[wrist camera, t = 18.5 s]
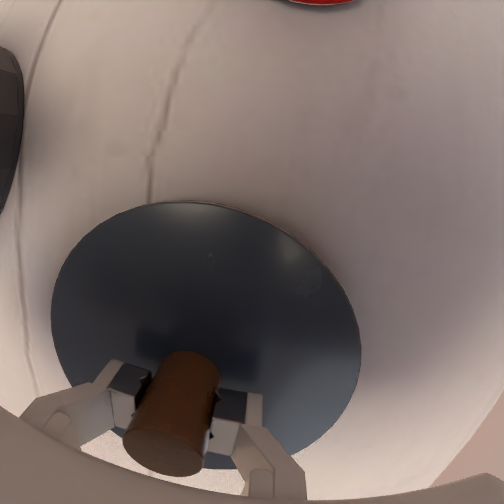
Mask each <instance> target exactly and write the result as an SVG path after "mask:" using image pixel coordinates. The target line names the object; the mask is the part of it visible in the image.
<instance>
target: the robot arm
mask: <svg viewBox="0 0 504 504" xmlns="http://www.w3.org/2000/svg"><path fill="white" fill-rule="evenodd" d="M151 380H152V372H151V371H150V370H146V369H143V368H140V367H137V366H134V365H131V364H128V363H124V362H121V361H118V360H116V359H111V360H110V361H109V362H108V363H107V365H106V366H105V367H104V369H103V370H102V371H101V372H100V374H99V375H98V376H97V378H96V379H95V380H94V382H93V383H90V382H87V383H84V384H81V385H78V386H75V387H72V388H69V389H65V390H62V391H59V392H56V393H52V394H49V395H46V396H42V397H39V398H36V399H35V400H34V401H33V402H32V403H31V404H30V406H29V407H28V408H27V409H26V410H25V411H24V412H23V413H22V415H21V416H20V417H19V418H18V417H17V416H15V415H13V414H12V413H10V412H9V411H7V410H6V409H4V408H3V407H1V406H0V504H504V481H502V480H500V479H499V478H497V477H495V476H493V475H491V474H488V473H481V474H478V475H474V476H471V477H468V478H465V479H462V480H458V481H454V482H451V483H447V484H443V485H439V486H435V487H431V488H426V489H422V490H417V491H411V492H406V493H400V494H393V495H386V496H379V497H370V498H359V499H344V500H307V491H306V481H305V472H304V470H303V469H302V468H301V467H300V466H299V465H298V464H297V463H296V462H295V460H294V459H293V458H292V457H291V456H290V455H289V454H288V452H287V451H286V450H285V449H284V448H283V447H282V446H281V444H280V443H279V442H278V441H277V440H276V438H275V437H274V436H273V435H272V434H271V432H270V431H269V430H268V429H267V428H266V427H262V403H263V396H262V394H257V393H250V392H242V391H236V390H230V389H225V388H220V387H219V389H218V393H217V398H216V403H215V407H214V412H213V417H212V422H211V427H210V432H211V433H210V438H209V443H208V448H207V451H209V452H213V453H218V454H223V455H228V456H231V458H232V460H233V462H234V464H235V465H236V467H237V469H238V471H239V472H240V474H241V476H242V478H243V479H244V481H245V486H244V488H243V491H242V493H241V495H240V496H239V495H232V494H225V493H219V492H213V491H208V490H203V489H198V488H193V487H188V486H184V485H180V484H176V483H172V482H168V481H164V480H160V479H157V478H153V477H150V476H147V475H144V474H140V473H137V472H134V471H131V470H128V469H125V468H123V467H120V466H117V465H114V464H112V463H109V462H106V461H104V460H101V459H99V458H97V457H94V456H92V455H89V454H87V453H85V452H83V451H81V448H80V446H82V445H83V444H85V443H87V442H89V441H91V440H93V439H94V438H96V437H98V436H100V435H101V434H103V433H105V432H107V431H108V430H110V429H112V428H114V427H115V426H117V427H120V428H123V429H127V427H128V425H129V423H130V421H131V419H132V417H133V415H134V413H135V411H136V409H137V407H138V405H139V403H140V401H141V400H142V398H143V396H144V394H145V392H146V390H147V388H148V386H149V384H150V382H151Z"/></svg>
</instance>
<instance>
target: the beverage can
mask: <svg viewBox="0 0 504 504" xmlns="http://www.w3.org/2000/svg"><path fill="white" fill-rule="evenodd" d="M289 1H292V2H297V3H302V4H309V5H334V4H341V3H346V2H351V1H353V0H289Z"/></svg>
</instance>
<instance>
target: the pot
mask: <svg viewBox="0 0 504 504" xmlns="http://www.w3.org/2000/svg"><path fill="white" fill-rule="evenodd" d="M23 112H24V92H23V81H22V75H21V71H20V68H19V64H18V62H17V60H16V59H15V57H14V56H13V54H12V53H11V52H10V51H8V50H7V49H5V48H2V47H0V213H1V211H2V208H3V206H4V204H5V201H6V198H7V195H8V192H9V190H10V186H11V182H12V179H13V176H14V171H15V167H16V163H17V158H18V152H19V147H20V141H21V133H22V125H23Z"/></svg>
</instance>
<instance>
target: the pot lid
mask: <svg viewBox="0 0 504 504" xmlns="http://www.w3.org/2000/svg"><path fill="white" fill-rule="evenodd" d="M51 328H52V336H53V341H54V346H55V349H56V353H57V356H58V359H59V362H60V364H61V366H62V369H63V371H64V373H65V375H66V377H67V379H68V381H69V382H70V384H71V386H72V387H75V386H78V385H81V384H84V383H87V382H90V383H93V382H94V380H95V379H96V378H97V376H98V375H99V374H100V372H101V371H102V370H103V369H104V367H105V366H106V365H107V363H108V362H109V361H110V360H111V359H116V360H118V361H121V362H124V363H128V364H131V365H134V366H137V367H140V368H143V369H146V370H150V371H151V372H152V380H151V382H150V384H149V386H148V388H147V390H146V392H145V394H144V396H143V398H142V400H141V401H140V403H139V405H138V407H137V409H136V411H135V413H134V415H133V417H132V419H131V421H130V423H129V425H128V427H127V429H123V428H120V427H117V426H115V427H114V428H112V429H110V430H112V431H113V432H114V433H116V434H117V435H118V436H120V437H121V438H122V440H123V446H124V448H125V450H126V451H127V453H128V454H129V455H130V456H131V457H132V458H133V459H134V460H135V461H136V462H138V463H139V464H140V465H142V466H144V467H145V468H147V469H149V470H151V471H154V472H156V473H159V474H163V475H167V476H173V477H186V476H191V475H194V474H196V473H198V472H199V471H200V470H201V469H202V468H207V469H237V467H236V465H235V464H234V462H233V460H232V458H231V456H228V455H223V454H218V453H213V452H209V451H207V448H208V443H209V438H210V433H211V432H210V427H211V422H212V417H213V412H214V407H215V403H216V398H217V393H218V389H219V387H220V388H225V389H230V390H236V391H242V392H250V393H257V394H262V396H263V403H262V427H266V428H267V429H268V430H269V431H270V432H271V434H272V435H273V436H274V437H275V438H276V440H277V441H278V442H279V443H280V444H281V446H282V447H283V448H284V449H285V450H286V451H287V452H288V454H289V455H290V456H291V455H293V454H295V453H297V452H299V451H300V450H302V449H304V448H306V447H307V446H309V445H310V444H312V443H313V442H314V441H316V440H317V439H319V438H320V437H321V436H322V435H323V434H324V433H325V432H326V431H328V430H329V429H330V428H331V427H332V426H333V424H334V423H335V422H336V421H337V419H338V418H339V417H340V416H341V414H342V413H343V411H344V410H345V408H346V406H347V405H348V403H349V401H350V399H351V397H352V394H353V392H354V389H355V387H356V384H357V380H358V376H359V371H360V366H361V341H360V333H359V327H358V324H357V321H356V317H355V314H354V311H353V308H352V306H351V304H350V302H349V300H348V298H347V296H346V294H345V292H344V290H343V288H342V287H341V285H340V284H339V282H338V281H337V279H336V278H335V277H334V275H333V274H332V272H331V271H330V269H329V268H328V267H327V266H326V265H325V264H324V262H323V261H322V260H321V259H320V258H319V257H318V256H317V255H316V254H315V253H314V252H313V251H312V250H311V249H310V248H309V247H307V246H306V245H305V244H304V243H302V242H301V241H300V240H299V239H297V238H296V237H295V236H293V235H292V234H291V233H289V232H288V231H286V230H284V229H282V228H281V227H279V226H277V225H276V224H274V223H272V222H270V221H269V220H267V219H264V218H262V217H259V216H257V215H254V214H252V213H250V212H247V211H245V210H242V209H238V208H234V207H230V206H226V205H223V204H219V203H212V202H203V201H194V200H180V201H163V202H158V203H153V204H147V205H142V206H139V207H136V208H133V209H130V210H127V211H125V212H122V213H119V214H117V215H115V216H113V217H111V218H110V219H108V220H106V221H104V222H103V223H101V224H99V225H98V226H96V227H95V228H94V229H93V230H92V231H90V232H89V233H88V234H87V235H85V236H84V237H83V238H82V239H81V241H80V242H79V243H78V244H77V245H76V246H75V247H74V249H73V250H72V251H71V253H70V254H69V256H68V257H67V259H66V261H65V262H64V264H63V266H62V268H61V270H60V273H59V275H58V278H57V280H56V283H55V287H54V292H53V296H52V304H51Z"/></svg>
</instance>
